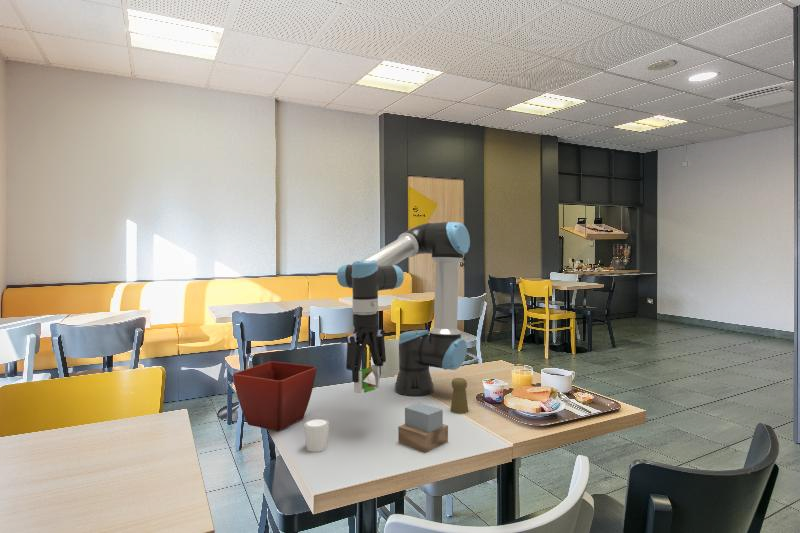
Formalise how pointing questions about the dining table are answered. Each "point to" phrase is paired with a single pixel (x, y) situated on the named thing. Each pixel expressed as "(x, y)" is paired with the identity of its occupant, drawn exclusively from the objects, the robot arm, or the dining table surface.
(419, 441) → the tower base block
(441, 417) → the tower top block
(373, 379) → the geometric puzzle
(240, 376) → the plant pot
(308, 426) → the white cup
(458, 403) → the cork
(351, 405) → the dining table surface
